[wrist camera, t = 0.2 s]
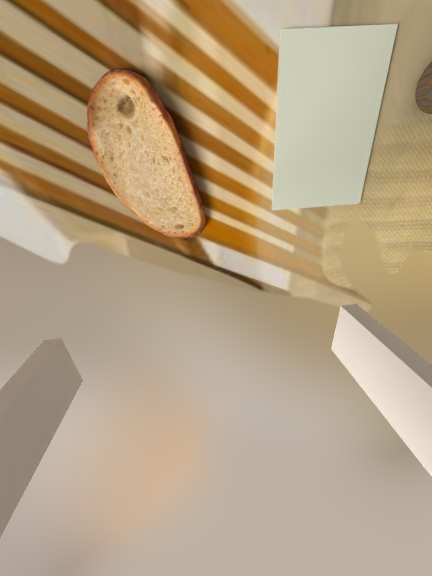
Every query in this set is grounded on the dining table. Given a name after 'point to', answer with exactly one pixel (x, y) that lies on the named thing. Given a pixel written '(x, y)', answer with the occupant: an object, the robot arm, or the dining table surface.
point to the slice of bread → (143, 154)
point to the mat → (327, 112)
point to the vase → (425, 91)
